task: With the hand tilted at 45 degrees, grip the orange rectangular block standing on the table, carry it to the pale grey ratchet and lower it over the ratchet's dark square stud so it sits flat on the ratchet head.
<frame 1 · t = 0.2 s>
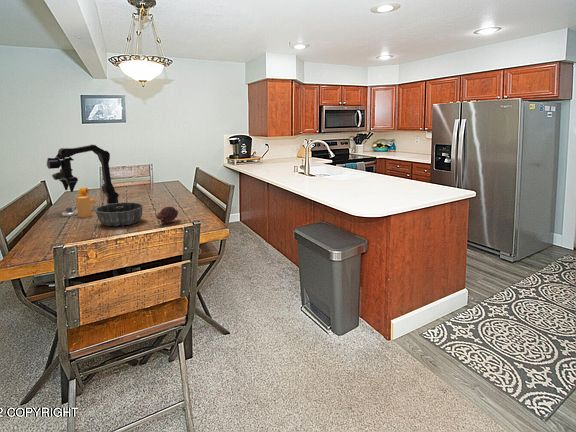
hand: (69, 191, 252), 14 cm above the table, tool pointing down, fingers open, 9 cm apart
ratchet: (70, 214, 248), on the table
bracket: (87, 203, 283), on the table
orange rectangular block: (85, 216, 244), on the table
pine cone: (169, 223, 227), on the table
bundt pan: (121, 223, 227), on the table
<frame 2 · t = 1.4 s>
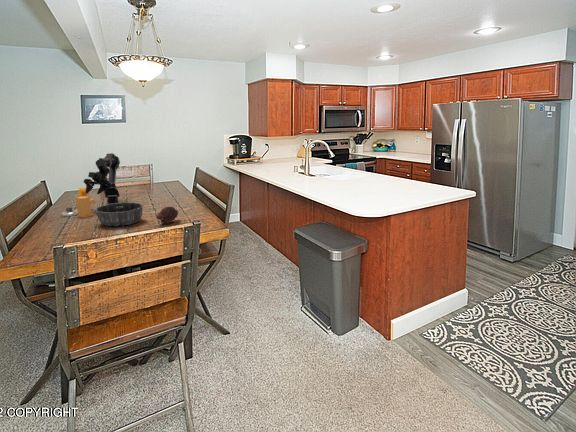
hand: (91, 193, 248), 13 cm above the table, tool tilted 45°, fingers open, 9 cm apart
nothing on the table moved.
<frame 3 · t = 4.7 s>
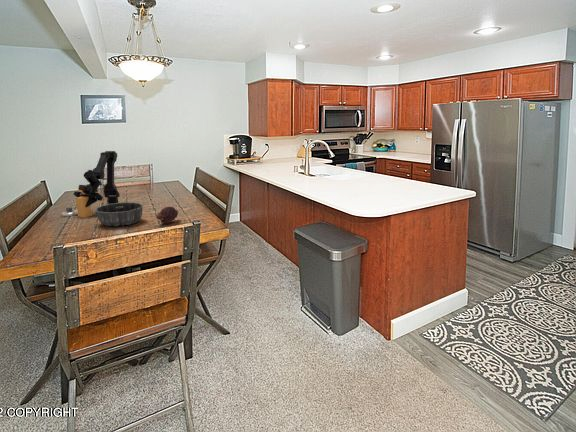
hand: (82, 206, 241), 7 cm above the table, tool tilted 45°, fingers closed on orange rectangular block, 6 cm apart
orange rectangular block: (85, 216, 244), on the table, touching gripper
everything else where it was.
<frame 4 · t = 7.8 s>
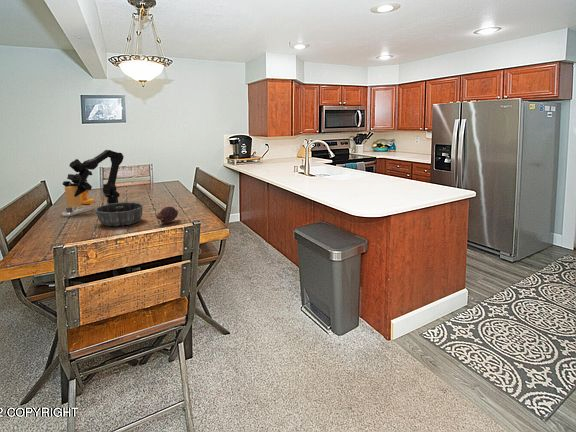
hand: (71, 196, 242), 13 cm above the table, tool tilted 45°, fingers closed on orange rectangular block, 6 cm apart
orange rectangular block: (74, 205, 245), point 6 cm above the table, touching gripper
everything else where it was.
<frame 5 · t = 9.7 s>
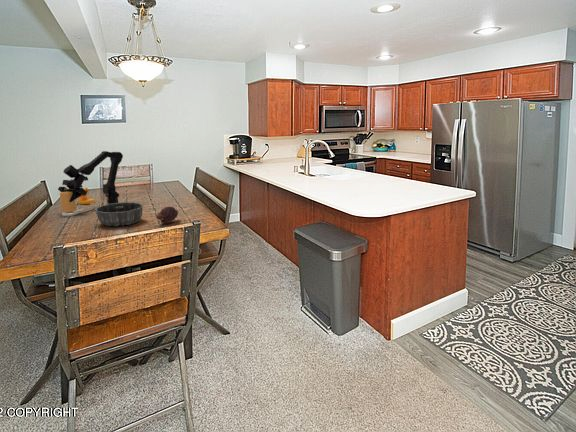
hand: (66, 201, 245), 9 cm above the table, tool tilted 45°, fingers closed on orange rectangular block, 6 cm apart
orange rectangular block: (69, 211, 247), point 3 cm above the table, touching gripper
everything else where it was.
when the fingers open (9 cm above the table, at t = 11.1 s): orange rectangular block stays where it is, resting on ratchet.
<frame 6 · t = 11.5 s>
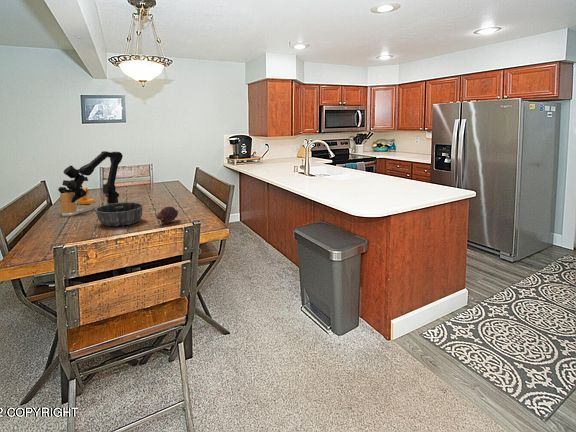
hand: (66, 202, 245), 9 cm above the table, tool tilted 45°, fingers open, 9 cm apart
orange rectangular block: (69, 212, 247), point 2 cm above the table, touching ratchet
everything else where it was.
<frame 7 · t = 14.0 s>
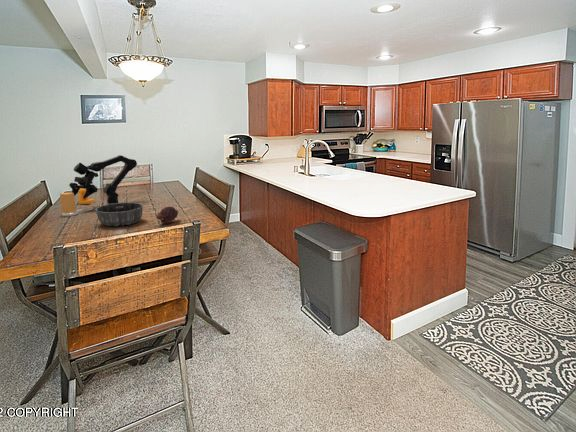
hand: (78, 197, 253), 10 cm above the table, tool tilted 45°, fingers open, 9 cm apart
nothing on the table moved.
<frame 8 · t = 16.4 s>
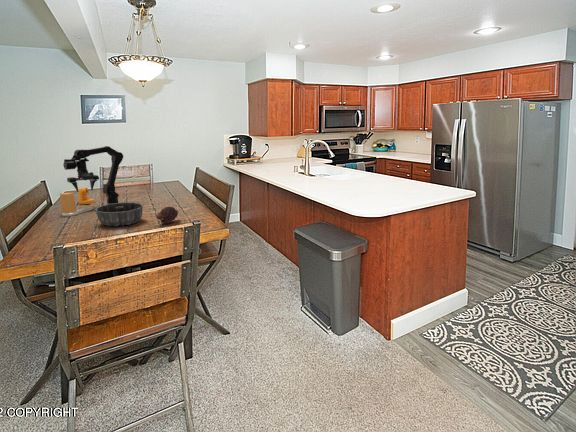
hand: (85, 191, 260), 13 cm above the table, tool pointing down, fingers open, 9 cm apart
nothing on the table moved.
at the end: orange rectangular block 0.0 cm off-centre on the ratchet, point 1.8 cm above the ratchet's base; orange rectangular block tilted 0°; the gripper is holding nothing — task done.
